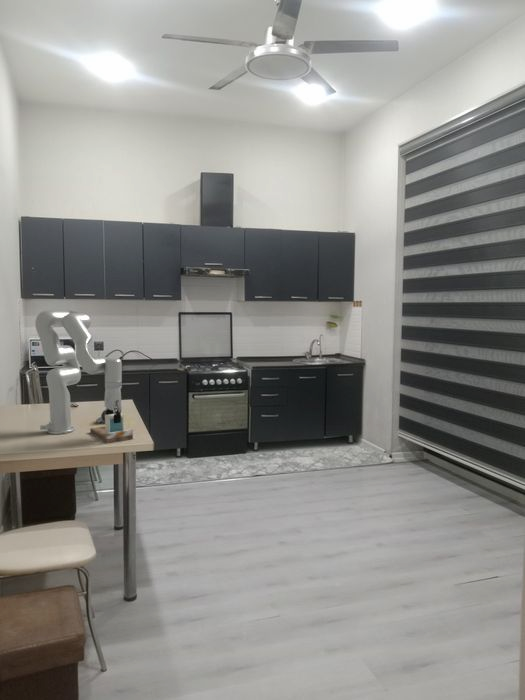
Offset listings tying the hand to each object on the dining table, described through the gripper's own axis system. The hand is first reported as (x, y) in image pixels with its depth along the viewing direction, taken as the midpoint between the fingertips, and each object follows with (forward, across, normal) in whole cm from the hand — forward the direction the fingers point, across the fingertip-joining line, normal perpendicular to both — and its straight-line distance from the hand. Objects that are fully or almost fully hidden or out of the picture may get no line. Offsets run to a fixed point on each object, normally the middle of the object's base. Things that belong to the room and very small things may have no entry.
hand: (113, 420), depth 240 cm
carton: (+6, +1, 0) cm, 6 cm away
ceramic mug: (+9, -34, +9) cm, 36 cm away
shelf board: (+8, -4, 0) cm, 9 cm away
